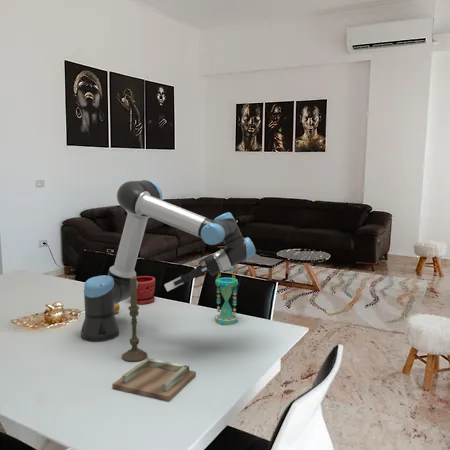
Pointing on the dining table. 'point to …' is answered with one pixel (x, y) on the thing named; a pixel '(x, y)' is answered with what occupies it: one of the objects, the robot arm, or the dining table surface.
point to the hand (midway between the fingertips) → (165, 287)
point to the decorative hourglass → (226, 300)
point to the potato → (116, 307)
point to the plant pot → (145, 289)
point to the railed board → (155, 379)
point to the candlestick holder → (134, 327)
